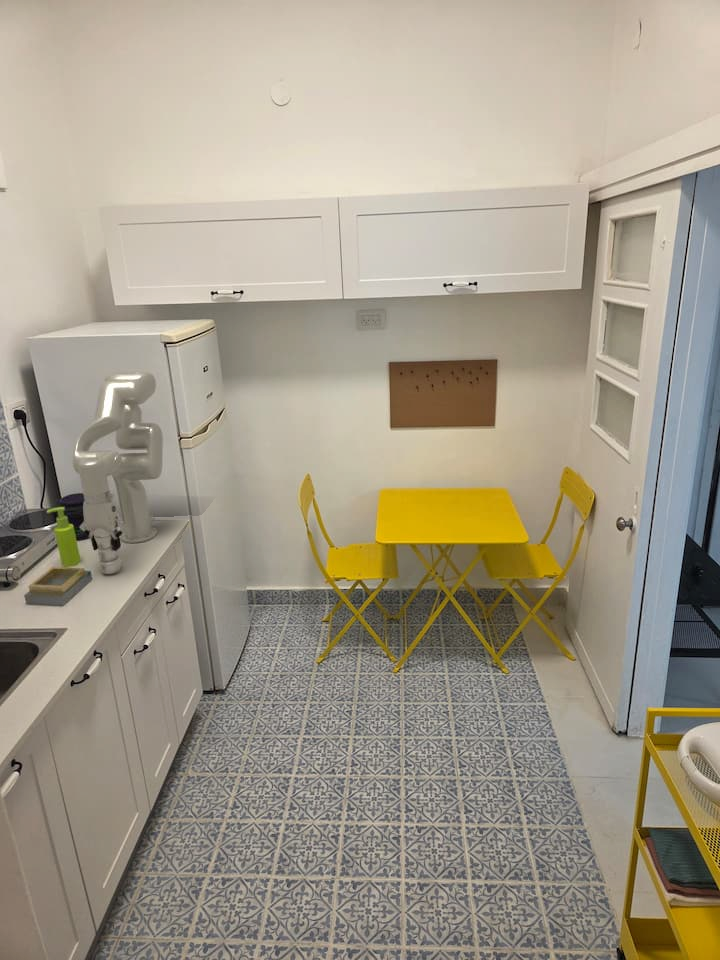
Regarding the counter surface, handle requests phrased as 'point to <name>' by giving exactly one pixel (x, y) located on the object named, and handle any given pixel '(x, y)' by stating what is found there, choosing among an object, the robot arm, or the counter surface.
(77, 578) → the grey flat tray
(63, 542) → the soap dispenser
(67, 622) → the counter surface
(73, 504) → the storage jar
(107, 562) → the plastic bottle
